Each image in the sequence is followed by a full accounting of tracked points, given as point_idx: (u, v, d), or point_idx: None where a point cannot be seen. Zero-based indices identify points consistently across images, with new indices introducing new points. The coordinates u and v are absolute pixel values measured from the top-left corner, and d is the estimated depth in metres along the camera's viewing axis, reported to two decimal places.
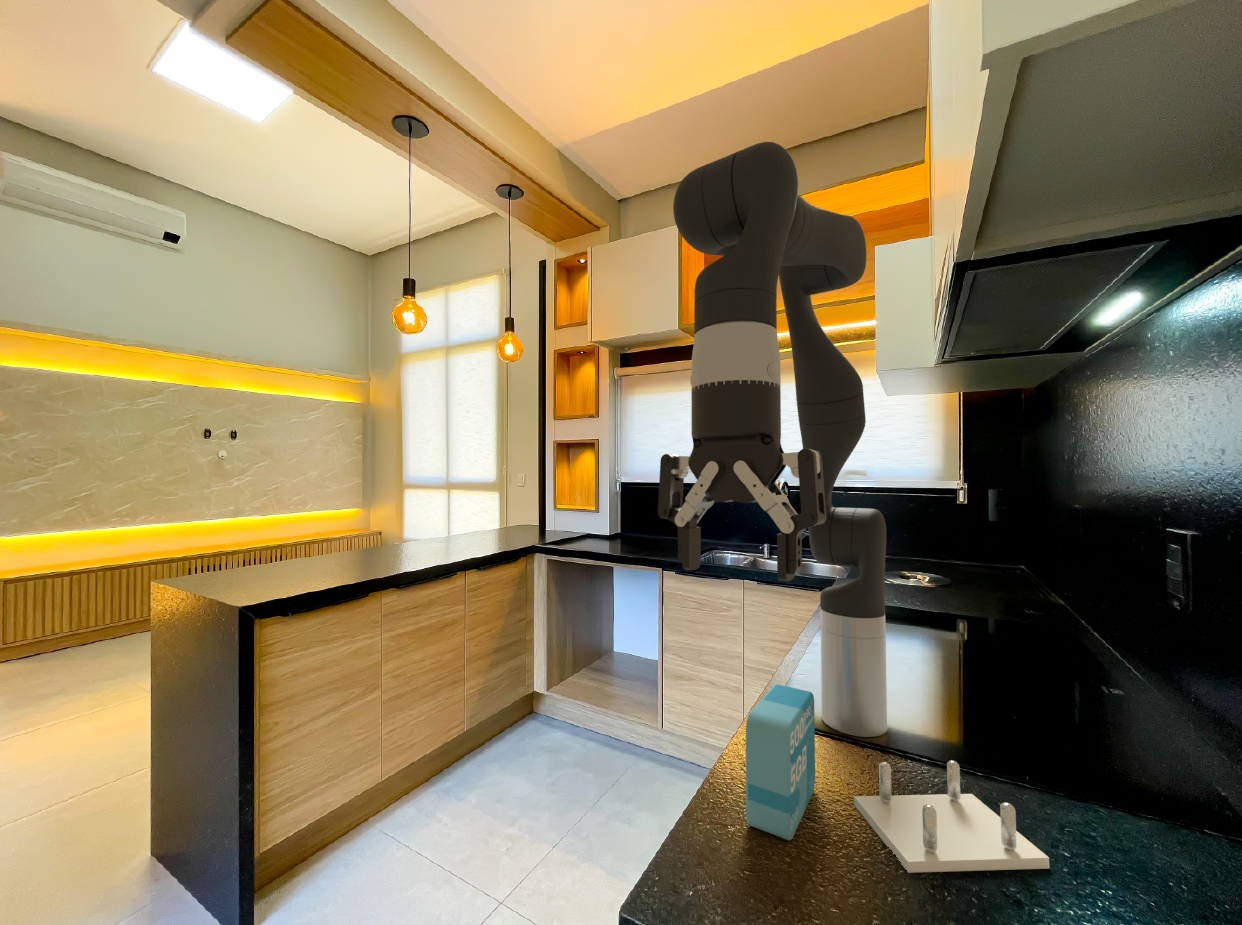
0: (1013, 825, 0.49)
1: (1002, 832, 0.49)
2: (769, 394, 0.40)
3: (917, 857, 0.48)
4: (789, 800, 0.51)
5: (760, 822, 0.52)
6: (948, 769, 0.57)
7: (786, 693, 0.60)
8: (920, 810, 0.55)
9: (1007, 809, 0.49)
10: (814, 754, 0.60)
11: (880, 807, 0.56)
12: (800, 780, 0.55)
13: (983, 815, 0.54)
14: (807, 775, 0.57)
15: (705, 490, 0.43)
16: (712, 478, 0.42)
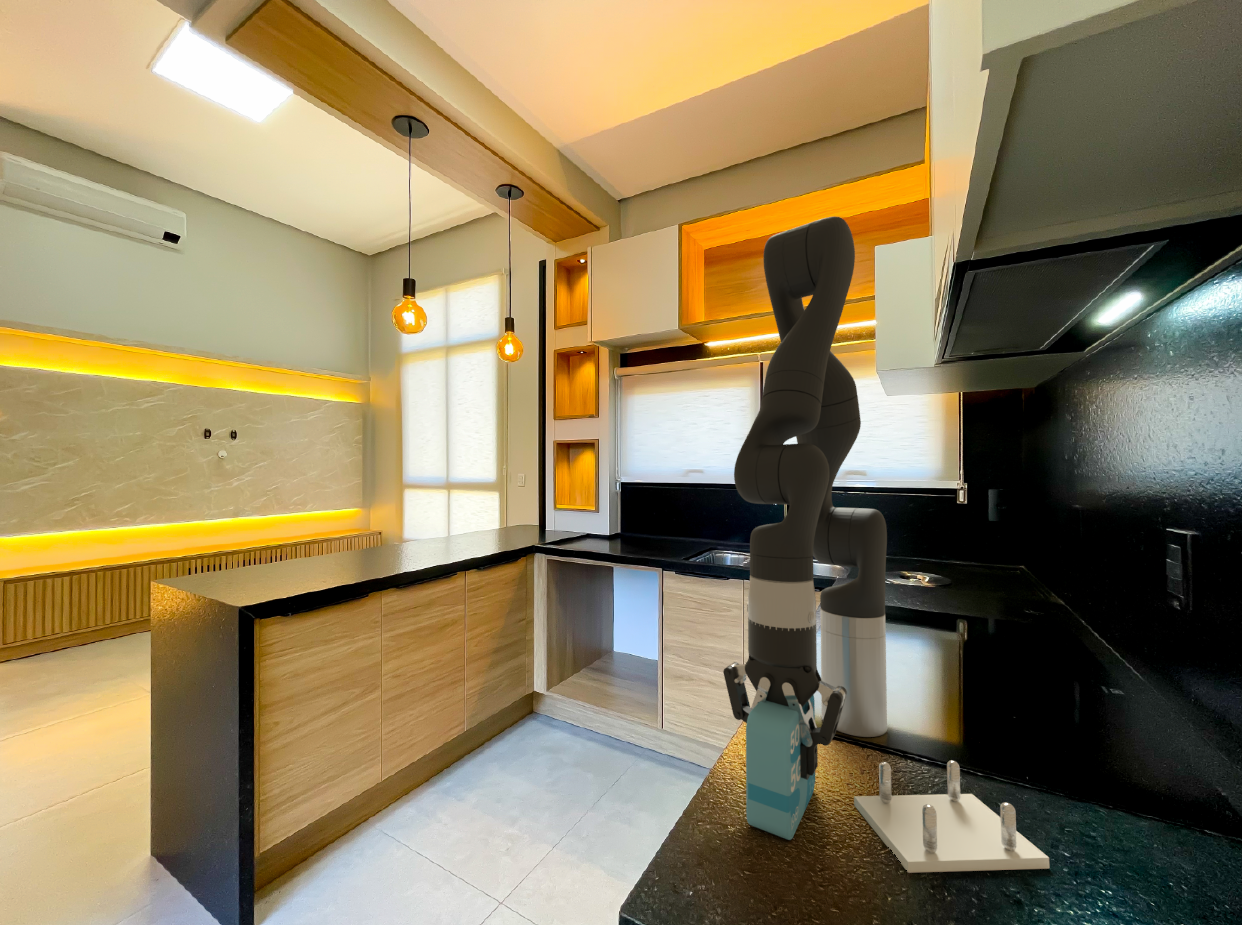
0: (1013, 825, 0.49)
1: (1002, 832, 0.49)
2: (809, 636, 0.55)
3: (917, 857, 0.48)
4: (789, 799, 0.51)
5: (760, 822, 0.52)
6: (948, 769, 0.57)
7: None
8: (920, 810, 0.55)
9: (1007, 809, 0.49)
10: None
11: (880, 807, 0.56)
12: (800, 780, 0.55)
13: (983, 815, 0.54)
14: None
15: (759, 696, 0.57)
16: (765, 690, 0.57)
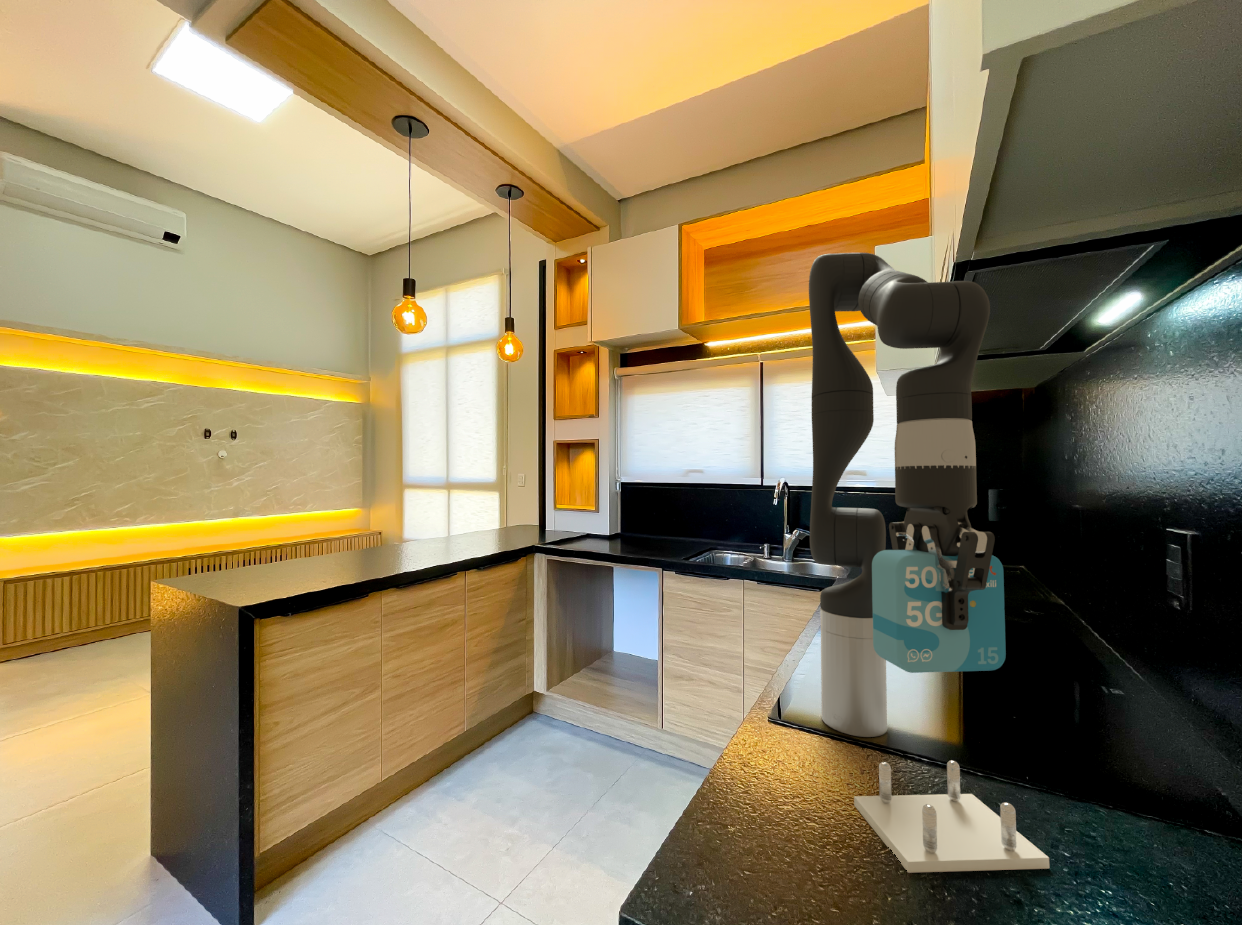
0: (1013, 825, 0.49)
1: (1002, 832, 0.49)
2: (944, 475, 0.51)
3: (917, 857, 0.48)
4: (902, 629, 0.51)
5: (881, 650, 0.54)
6: (948, 769, 0.57)
7: None
8: (920, 810, 0.55)
9: (1007, 809, 0.49)
10: (1002, 629, 0.52)
11: (880, 807, 0.56)
12: (942, 629, 0.52)
13: (983, 815, 0.54)
14: (971, 638, 0.52)
15: (909, 545, 0.56)
16: (911, 536, 0.55)
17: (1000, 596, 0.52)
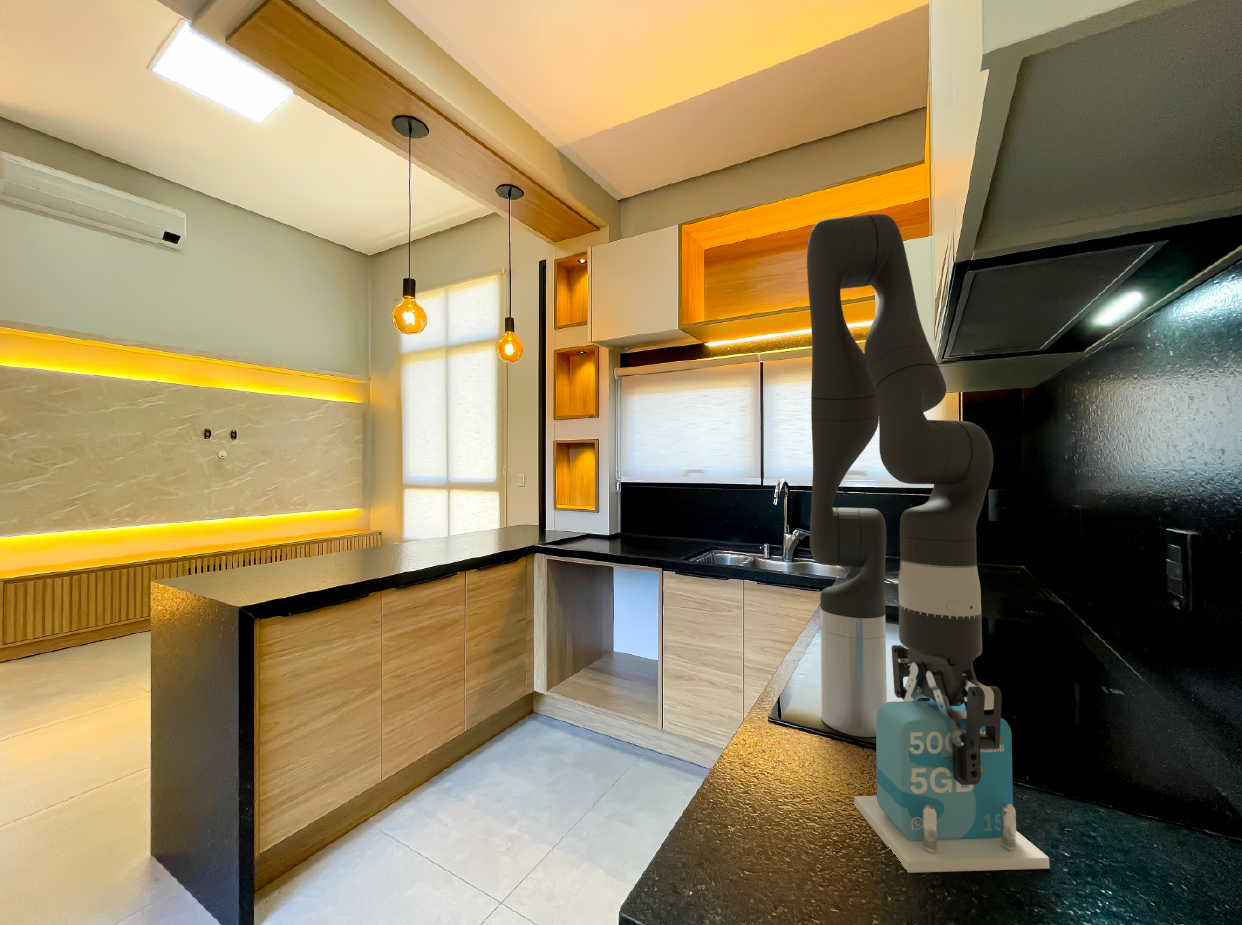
0: (1013, 825, 0.49)
1: (1002, 832, 0.49)
2: (949, 626, 0.50)
3: (917, 857, 0.48)
4: (906, 796, 0.50)
5: (884, 808, 0.53)
6: None
7: (962, 707, 0.54)
8: None
9: (1007, 809, 0.49)
10: (1009, 794, 0.51)
11: None
12: (947, 796, 0.51)
13: None
14: (977, 804, 0.51)
15: (913, 683, 0.55)
16: (915, 676, 0.55)
17: (1008, 761, 0.51)
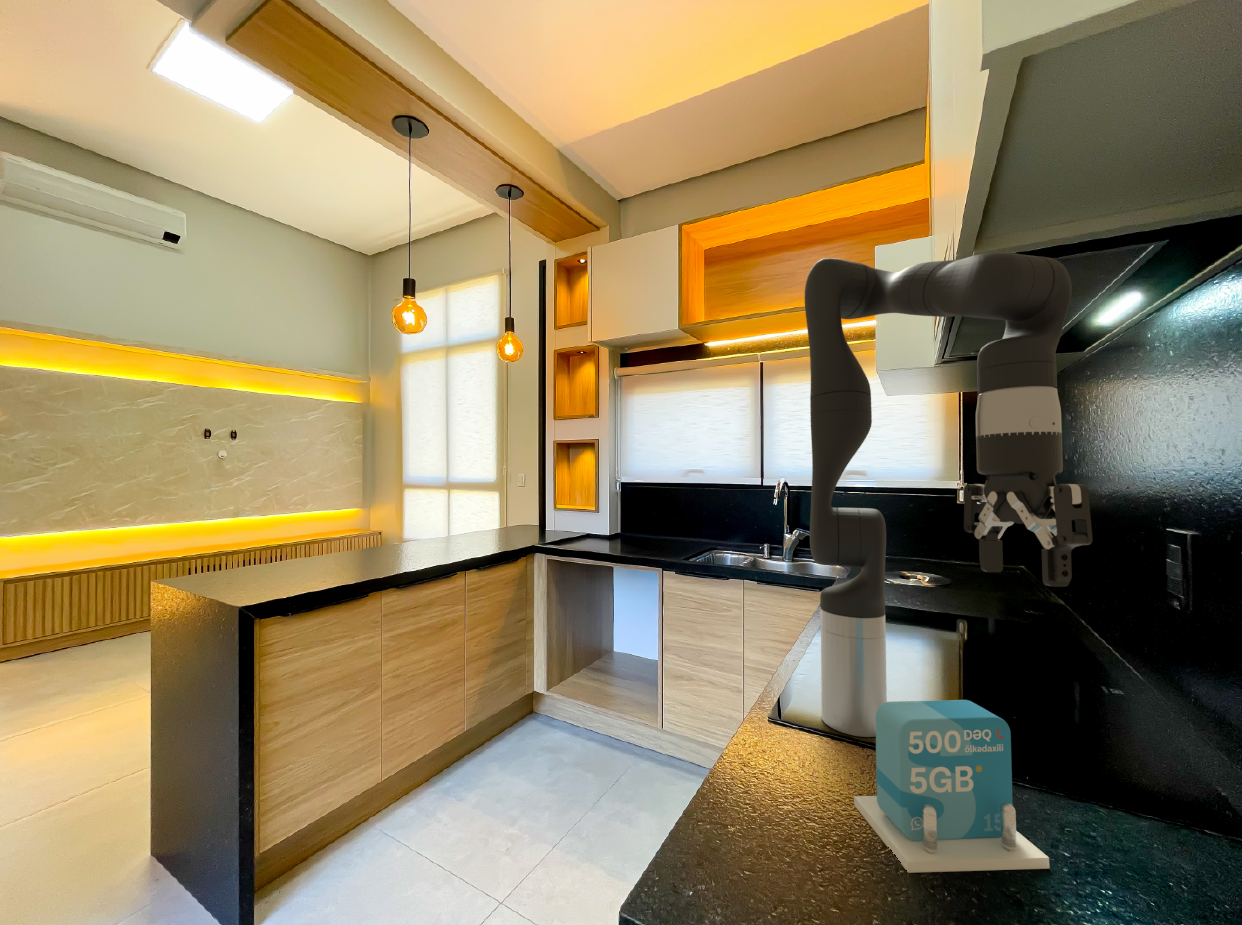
0: (1013, 825, 0.49)
1: (1002, 832, 0.49)
2: (1032, 441, 0.52)
3: (917, 857, 0.48)
4: (905, 795, 0.50)
5: (884, 808, 0.53)
6: None
7: (962, 707, 0.54)
8: None
9: (1007, 809, 0.49)
10: (1009, 794, 0.51)
11: None
12: (947, 795, 0.51)
13: None
14: (977, 804, 0.51)
15: (990, 512, 0.58)
16: (993, 504, 0.57)
17: (1007, 760, 0.51)
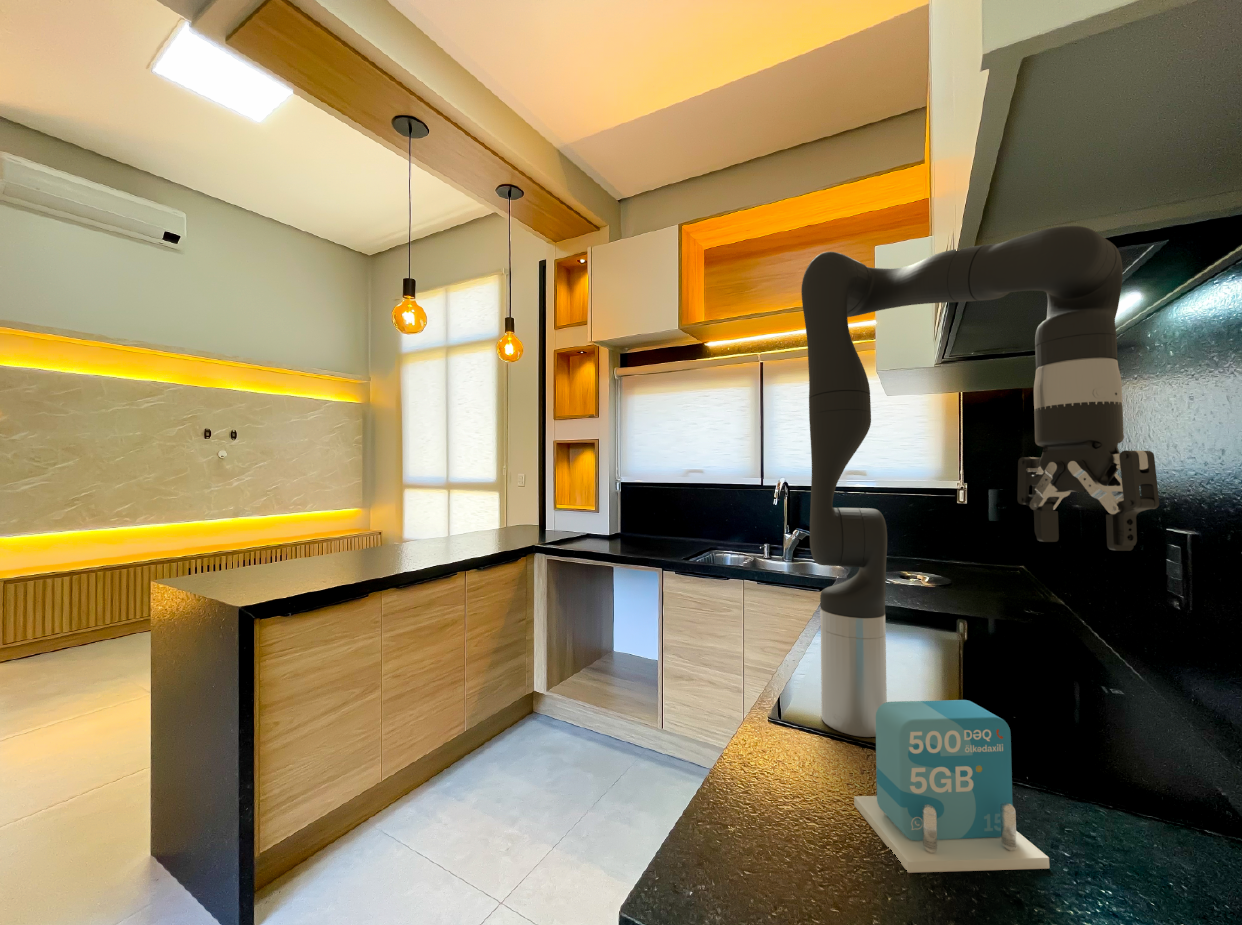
0: (1013, 825, 0.49)
1: (1002, 832, 0.49)
2: (1096, 411, 0.54)
3: (917, 857, 0.48)
4: (905, 795, 0.50)
5: (884, 808, 0.53)
6: None
7: (962, 707, 0.54)
8: None
9: (1007, 809, 0.49)
10: (1009, 794, 0.51)
11: None
12: (947, 795, 0.51)
13: None
14: (977, 804, 0.51)
15: (1049, 483, 0.59)
16: (1052, 474, 0.58)
17: (1007, 760, 0.51)
